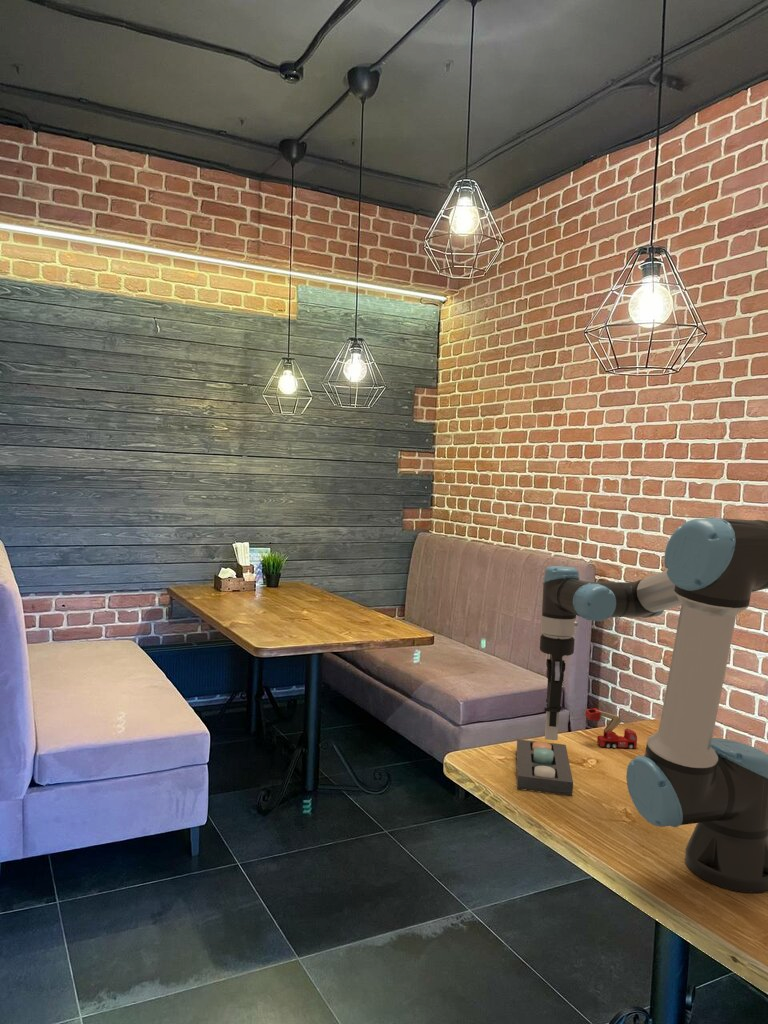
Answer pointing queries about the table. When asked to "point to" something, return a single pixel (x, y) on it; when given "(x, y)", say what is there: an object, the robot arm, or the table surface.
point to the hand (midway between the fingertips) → (551, 738)
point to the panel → (560, 765)
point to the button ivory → (544, 771)
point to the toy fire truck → (609, 735)
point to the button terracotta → (541, 745)
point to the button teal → (543, 756)
